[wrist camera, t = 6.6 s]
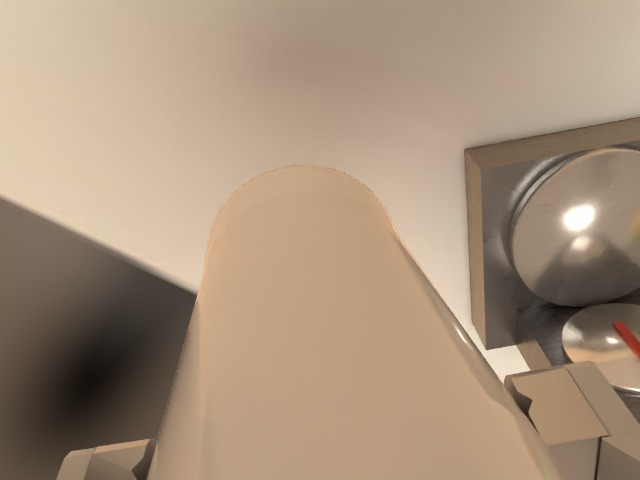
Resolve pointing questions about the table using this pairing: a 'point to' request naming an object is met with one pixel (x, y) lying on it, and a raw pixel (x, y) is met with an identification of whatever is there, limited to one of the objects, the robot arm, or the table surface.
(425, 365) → the drinking glass
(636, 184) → the dial scale
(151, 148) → the table surface
